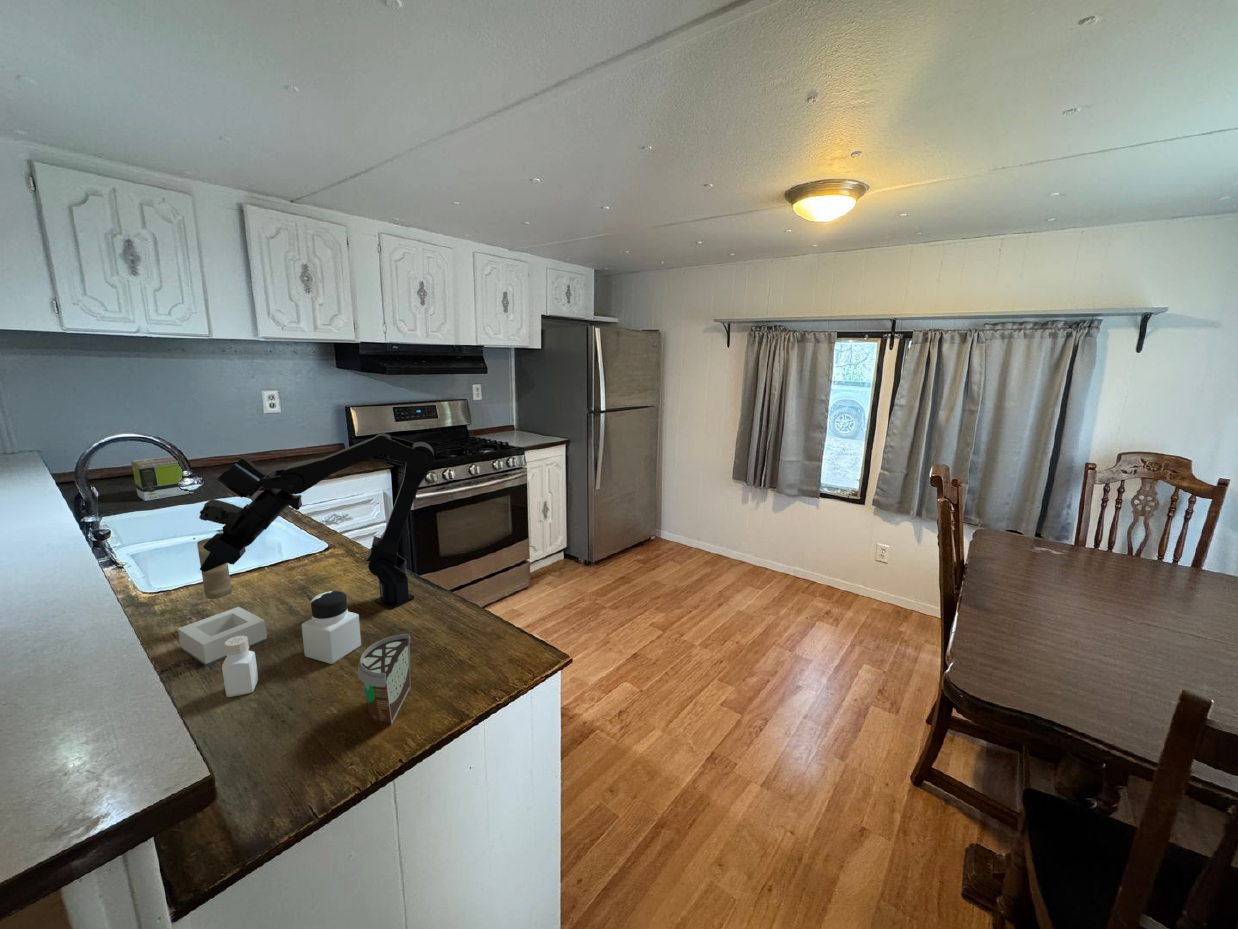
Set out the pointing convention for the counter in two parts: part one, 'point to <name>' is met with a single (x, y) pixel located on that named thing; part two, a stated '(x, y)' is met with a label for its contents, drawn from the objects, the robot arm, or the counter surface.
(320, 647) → the medicine bottle
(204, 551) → the oak plug peg
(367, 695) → the food container
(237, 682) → the pepper shaker
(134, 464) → the tea box
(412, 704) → the counter surface
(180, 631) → the socket block
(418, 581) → the counter surface
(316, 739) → the counter surface
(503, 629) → the counter surface
